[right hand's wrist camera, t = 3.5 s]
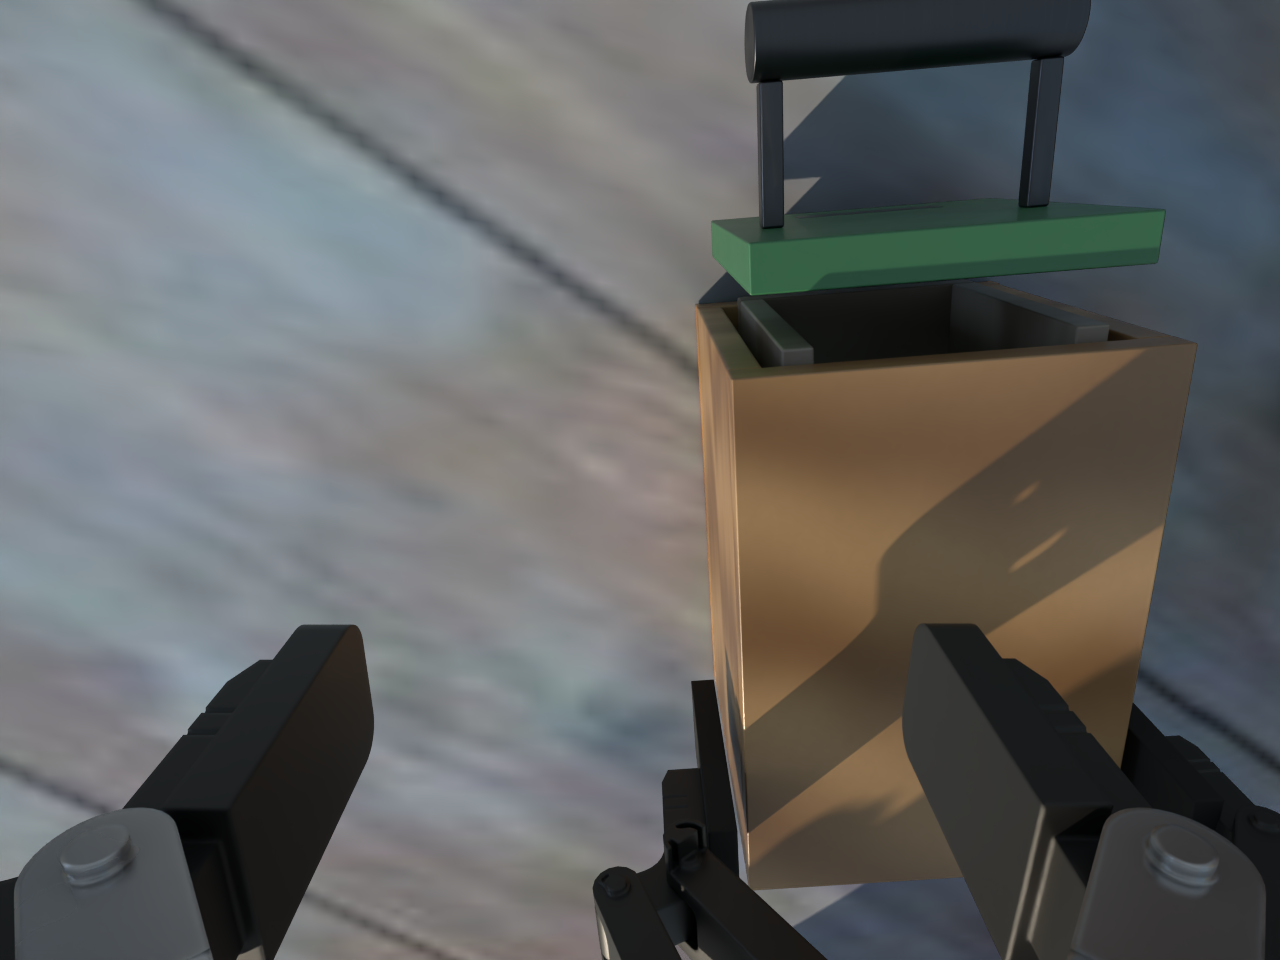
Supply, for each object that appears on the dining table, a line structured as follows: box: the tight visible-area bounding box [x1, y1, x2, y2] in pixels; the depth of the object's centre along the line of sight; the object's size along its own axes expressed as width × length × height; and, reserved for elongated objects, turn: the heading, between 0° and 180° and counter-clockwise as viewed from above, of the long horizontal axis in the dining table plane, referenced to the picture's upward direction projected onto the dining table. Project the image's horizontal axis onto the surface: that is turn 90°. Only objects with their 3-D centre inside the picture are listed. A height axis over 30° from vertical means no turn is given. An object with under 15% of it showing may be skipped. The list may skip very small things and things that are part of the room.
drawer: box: [711, 0, 1166, 368], centre depth 24 cm, size 20×9×9 cm, turn 4°
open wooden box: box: [695, 281, 1197, 890], centre depth 26 cm, size 16×11×11 cm
